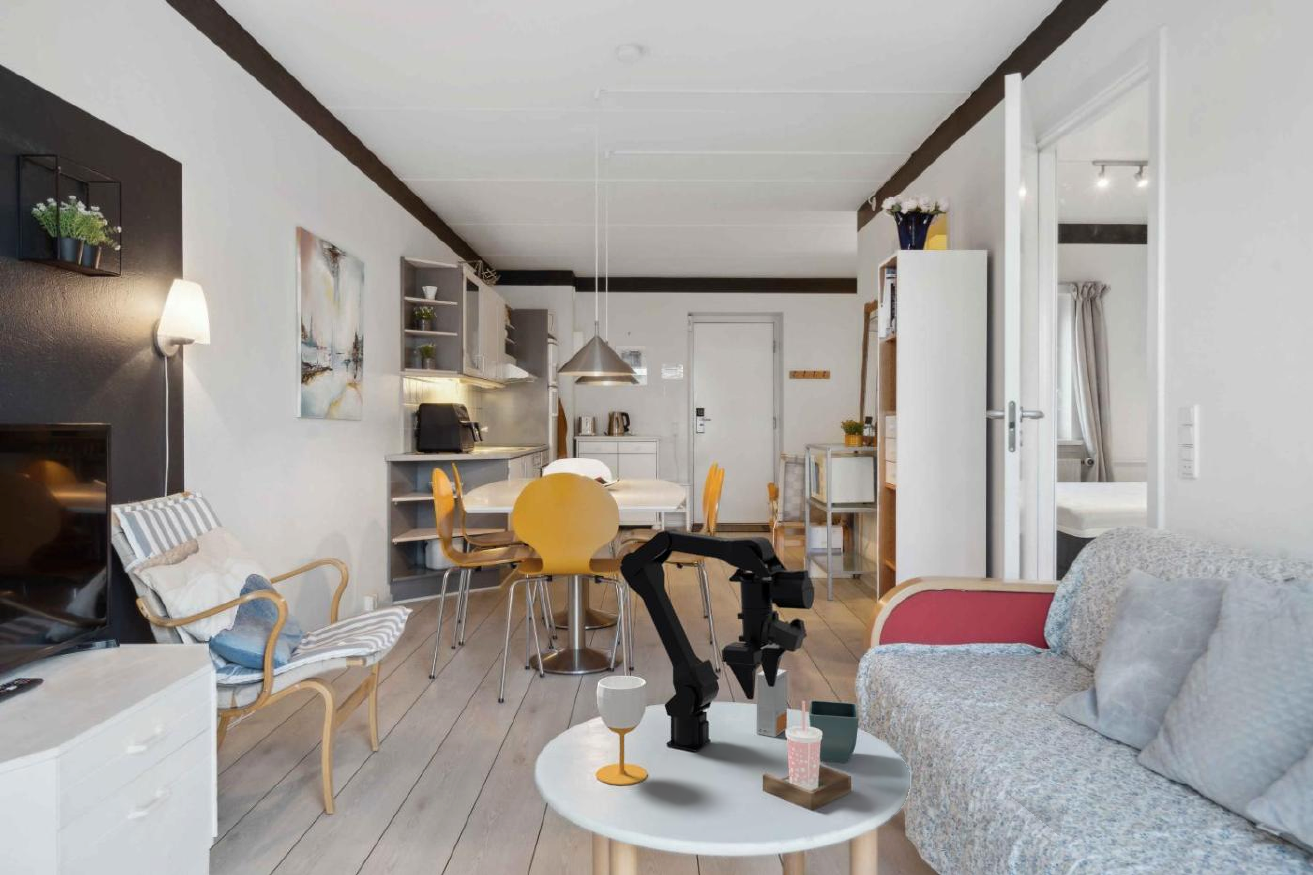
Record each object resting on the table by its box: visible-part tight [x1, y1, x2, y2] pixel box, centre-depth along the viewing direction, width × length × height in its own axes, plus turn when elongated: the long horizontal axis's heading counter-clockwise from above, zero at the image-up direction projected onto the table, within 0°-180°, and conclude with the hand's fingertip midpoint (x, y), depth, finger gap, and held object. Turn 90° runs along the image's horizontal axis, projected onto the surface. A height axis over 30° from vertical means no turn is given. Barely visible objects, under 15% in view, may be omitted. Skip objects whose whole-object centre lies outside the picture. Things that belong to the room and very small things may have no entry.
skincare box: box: [755, 668, 788, 738], centre depth 163 cm, size 6×4×12 cm
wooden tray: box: [762, 764, 852, 811], centre depth 135 cm, size 10×11×3 cm
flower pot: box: [808, 699, 860, 763], centre depth 150 cm, size 9×9×9 cm
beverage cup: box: [784, 700, 822, 791], centre depth 135 cm, size 6×6×14 cm
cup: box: [595, 675, 649, 786], centre depth 141 cm, size 9×9×16 cm
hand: (761, 692), depth 148 cm, fingers open, 9 cm apart
